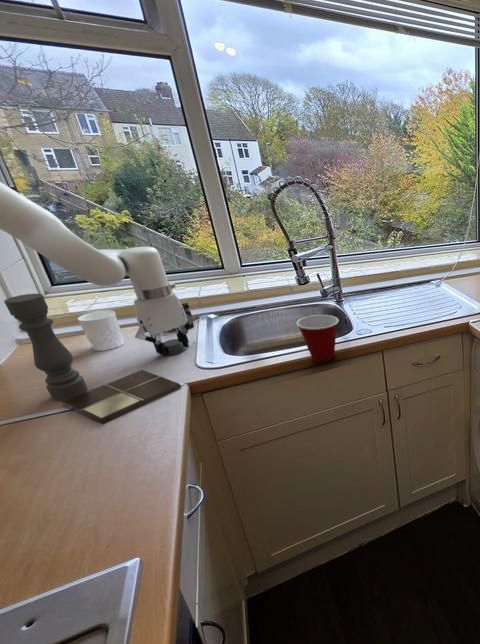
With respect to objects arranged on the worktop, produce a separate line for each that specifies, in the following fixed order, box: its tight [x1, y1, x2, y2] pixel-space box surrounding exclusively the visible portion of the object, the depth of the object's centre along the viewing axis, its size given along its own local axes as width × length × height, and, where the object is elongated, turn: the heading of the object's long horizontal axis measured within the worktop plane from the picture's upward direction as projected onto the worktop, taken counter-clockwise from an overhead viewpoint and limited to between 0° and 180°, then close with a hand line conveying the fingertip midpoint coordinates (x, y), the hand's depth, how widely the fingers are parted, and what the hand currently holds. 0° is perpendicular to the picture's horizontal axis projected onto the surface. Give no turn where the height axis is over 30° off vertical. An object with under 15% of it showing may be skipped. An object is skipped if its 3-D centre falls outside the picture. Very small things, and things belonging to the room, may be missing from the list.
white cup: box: [77, 309, 125, 352], centre depth 120 cm, size 8×8×10 cm
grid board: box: [61, 369, 182, 425], centre depth 98 cm, size 16×16×1 cm
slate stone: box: [162, 338, 186, 356], centre depth 119 cm, size 5×5×3 cm
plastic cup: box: [296, 314, 340, 363], centre depth 116 cm, size 11×11×12 cm
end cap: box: [172, 302, 195, 331], centre depth 135 cm, size 10×7×7 cm
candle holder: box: [3, 293, 89, 402], centre depth 94 cm, size 6×6×25 cm
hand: (174, 349), depth 119 cm, fingers closed on slate stone, 5 cm apart
